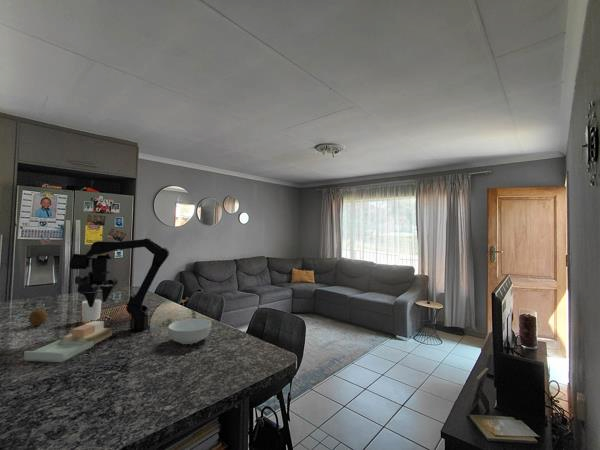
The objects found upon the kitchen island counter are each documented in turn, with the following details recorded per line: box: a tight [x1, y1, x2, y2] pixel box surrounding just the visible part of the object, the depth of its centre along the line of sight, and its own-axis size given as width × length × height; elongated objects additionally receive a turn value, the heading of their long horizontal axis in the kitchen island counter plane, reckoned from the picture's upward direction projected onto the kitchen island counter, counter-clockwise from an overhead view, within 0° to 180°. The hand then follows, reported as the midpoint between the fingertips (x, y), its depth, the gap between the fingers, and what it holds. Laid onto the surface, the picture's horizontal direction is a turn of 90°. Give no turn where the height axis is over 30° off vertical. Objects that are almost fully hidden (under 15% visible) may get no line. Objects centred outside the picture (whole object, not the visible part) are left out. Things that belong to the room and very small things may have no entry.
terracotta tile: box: [71, 324, 94, 337], centre depth 117 cm, size 5×5×3 cm
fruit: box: [28, 308, 48, 327], centre depth 135 cm, size 6×6×8 cm
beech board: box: [61, 327, 113, 345], centre depth 120 cm, size 12×12×3 cm
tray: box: [23, 339, 95, 363], centre depth 107 cm, size 14×14×3 cm
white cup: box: [81, 298, 103, 324], centre depth 143 cm, size 8×8×10 cm
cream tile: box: [83, 320, 105, 333], centre depth 123 cm, size 5×5×3 cm
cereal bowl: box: [167, 318, 212, 345], centre depth 121 cm, size 17×17×7 cm
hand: (97, 304), depth 128 cm, fingers open, 9 cm apart
